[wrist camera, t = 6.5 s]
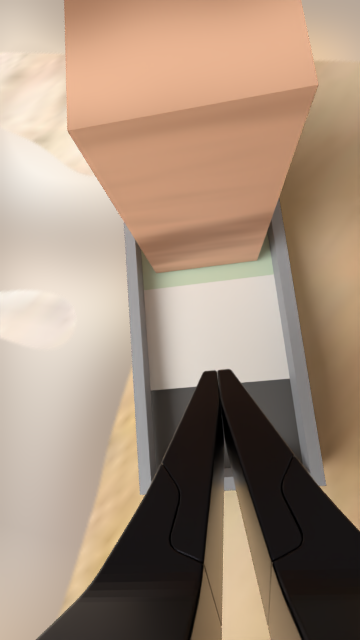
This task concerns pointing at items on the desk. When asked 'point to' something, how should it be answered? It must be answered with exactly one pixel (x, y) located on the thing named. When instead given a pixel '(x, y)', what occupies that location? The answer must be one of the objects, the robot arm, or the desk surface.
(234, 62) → the terracotta block
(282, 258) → the trap box
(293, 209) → the desk surface
